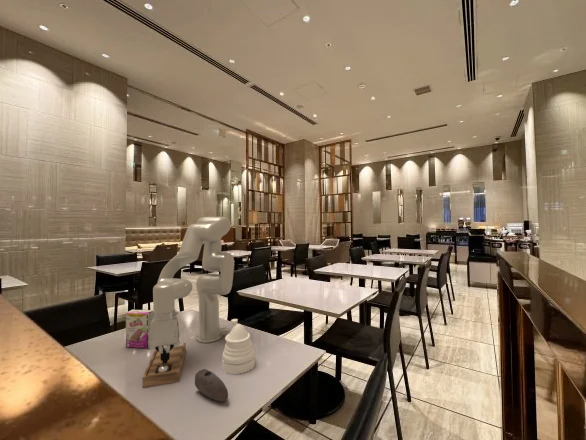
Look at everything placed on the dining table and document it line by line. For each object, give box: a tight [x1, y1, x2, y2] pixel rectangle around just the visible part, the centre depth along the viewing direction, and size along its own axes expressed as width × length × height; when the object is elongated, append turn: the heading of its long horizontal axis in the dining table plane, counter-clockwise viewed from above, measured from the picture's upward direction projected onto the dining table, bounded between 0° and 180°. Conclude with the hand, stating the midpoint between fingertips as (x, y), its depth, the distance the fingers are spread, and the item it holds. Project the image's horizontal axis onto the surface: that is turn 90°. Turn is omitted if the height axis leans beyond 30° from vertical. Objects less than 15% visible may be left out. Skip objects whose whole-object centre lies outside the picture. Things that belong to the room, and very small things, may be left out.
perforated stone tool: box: [194, 368, 229, 403], centre depth 93 cm, size 15×5×7 cm, turn 51°
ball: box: [157, 365, 170, 373], centre depth 105 cm, size 4×4×4 cm
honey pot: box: [221, 318, 256, 375], centre depth 112 cm, size 13×13×18 cm
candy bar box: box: [124, 309, 154, 349], centre depth 129 cm, size 11×5×16 cm, turn 84°
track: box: [142, 342, 187, 388], centre depth 111 cm, size 24×12×4 cm, turn 16°
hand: (165, 361), depth 108 cm, fingers closed
